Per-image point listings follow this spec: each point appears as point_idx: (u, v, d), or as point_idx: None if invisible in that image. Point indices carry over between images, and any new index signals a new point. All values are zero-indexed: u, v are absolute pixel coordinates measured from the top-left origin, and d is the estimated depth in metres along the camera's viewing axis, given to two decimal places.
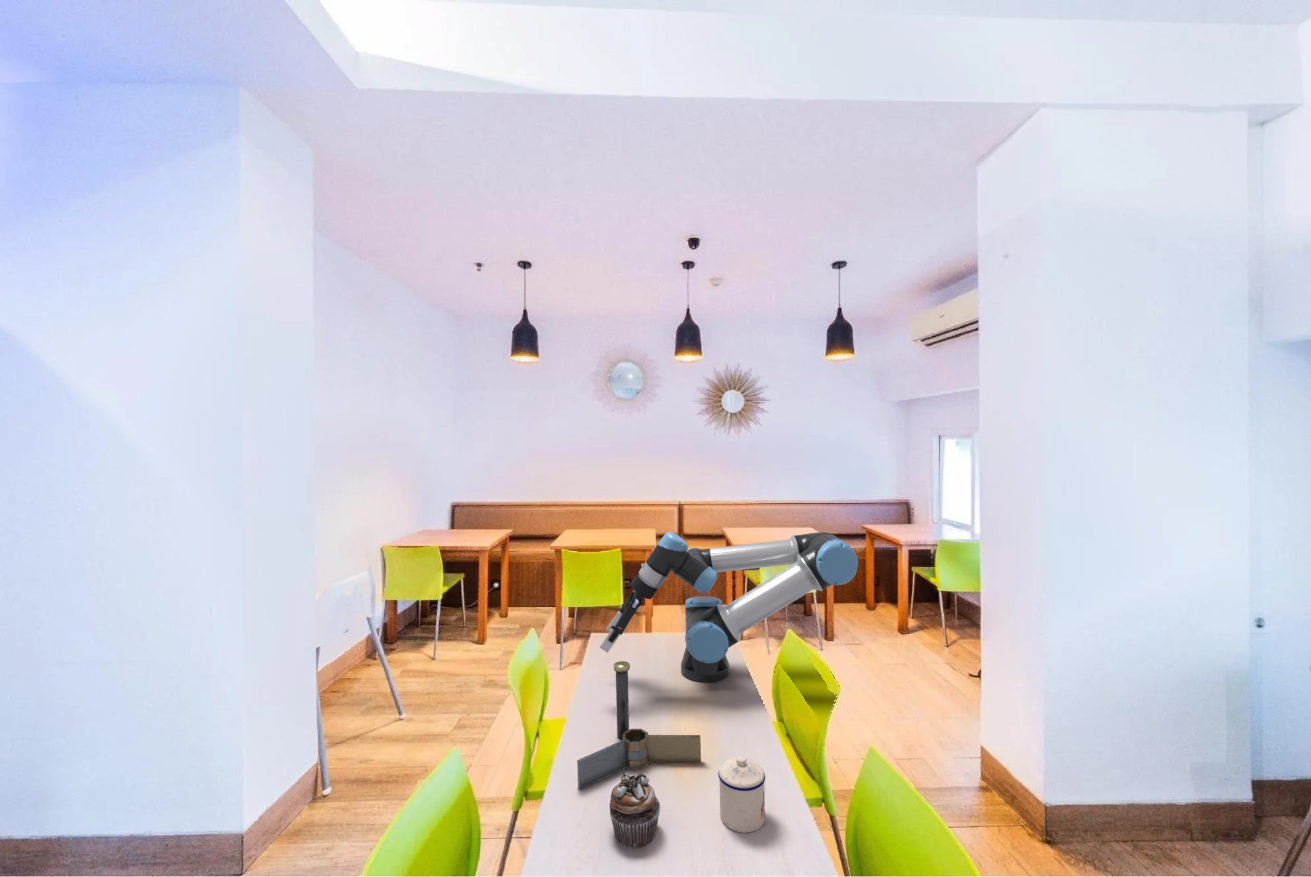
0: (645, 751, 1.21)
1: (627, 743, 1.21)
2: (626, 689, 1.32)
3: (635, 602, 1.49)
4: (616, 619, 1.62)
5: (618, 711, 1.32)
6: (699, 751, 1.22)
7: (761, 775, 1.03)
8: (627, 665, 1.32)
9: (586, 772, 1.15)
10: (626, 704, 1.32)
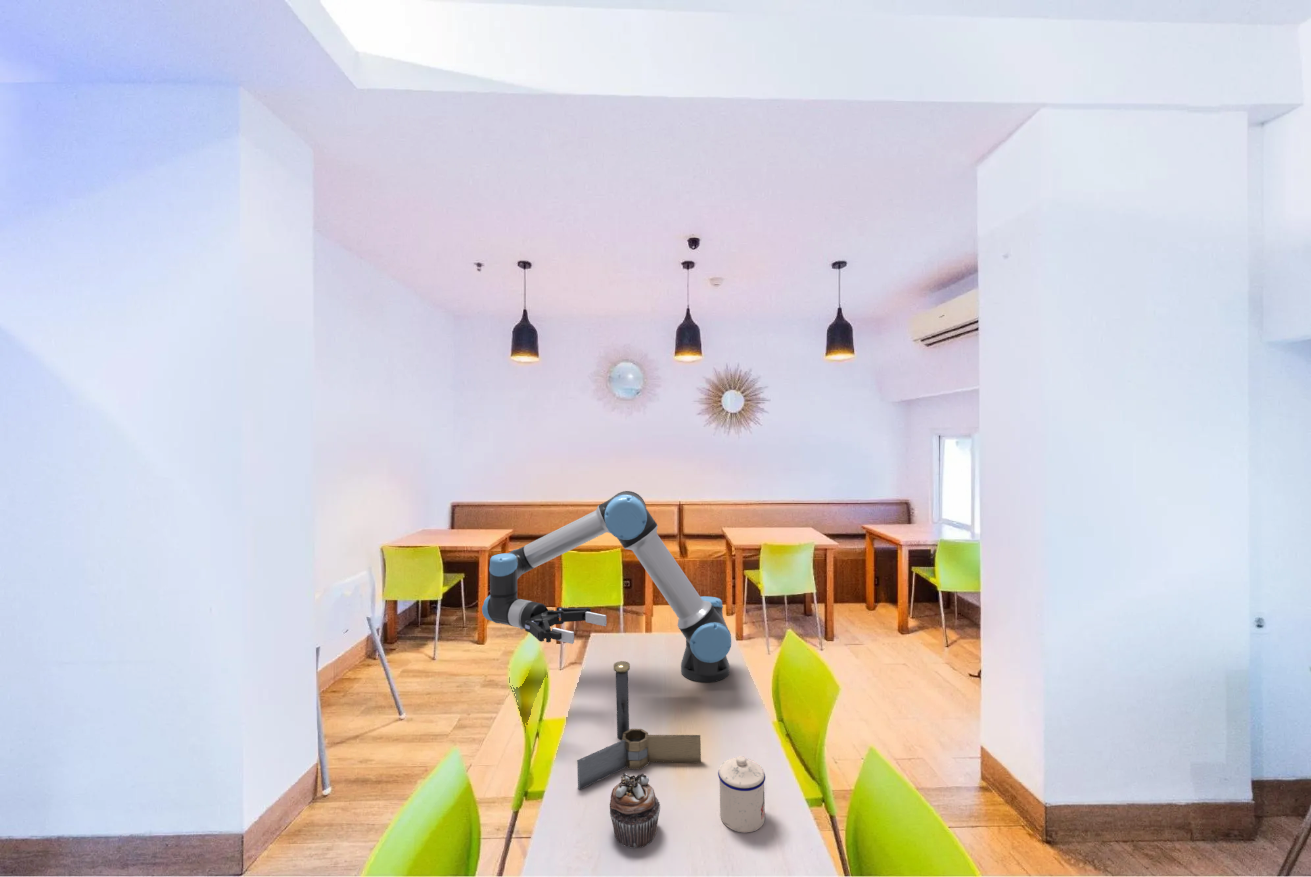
0: (645, 751, 1.21)
1: (627, 743, 1.21)
2: (626, 689, 1.32)
3: (525, 627, 1.40)
4: (591, 620, 1.46)
5: (618, 711, 1.32)
6: (699, 751, 1.22)
7: (761, 775, 1.03)
8: (627, 665, 1.32)
9: (586, 772, 1.15)
10: (626, 704, 1.32)
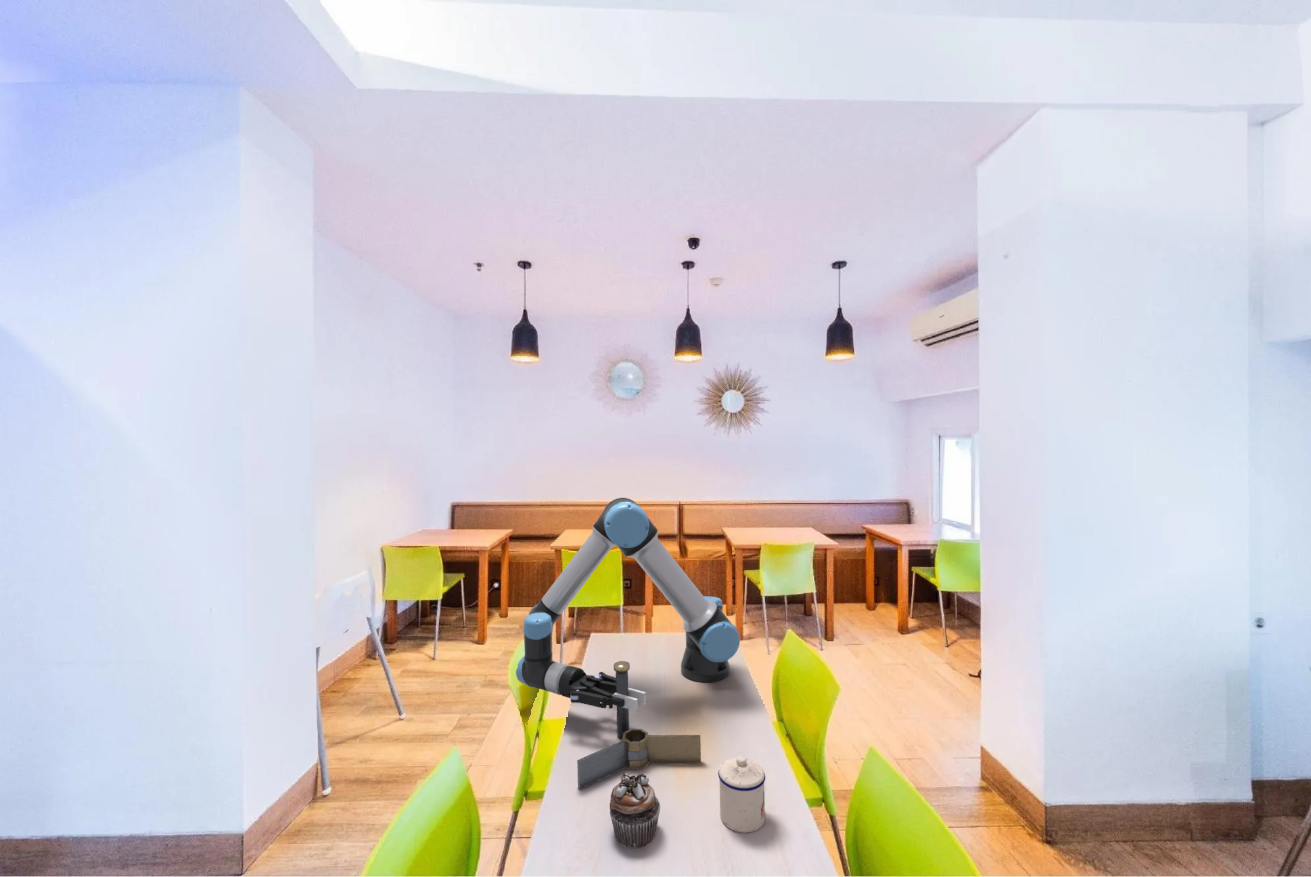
0: (645, 751, 1.21)
1: (627, 743, 1.21)
2: (626, 689, 1.32)
3: (571, 698, 1.33)
4: (629, 696, 1.34)
5: (618, 711, 1.32)
6: (699, 751, 1.22)
7: (761, 775, 1.03)
8: (627, 665, 1.32)
9: (586, 772, 1.15)
10: None
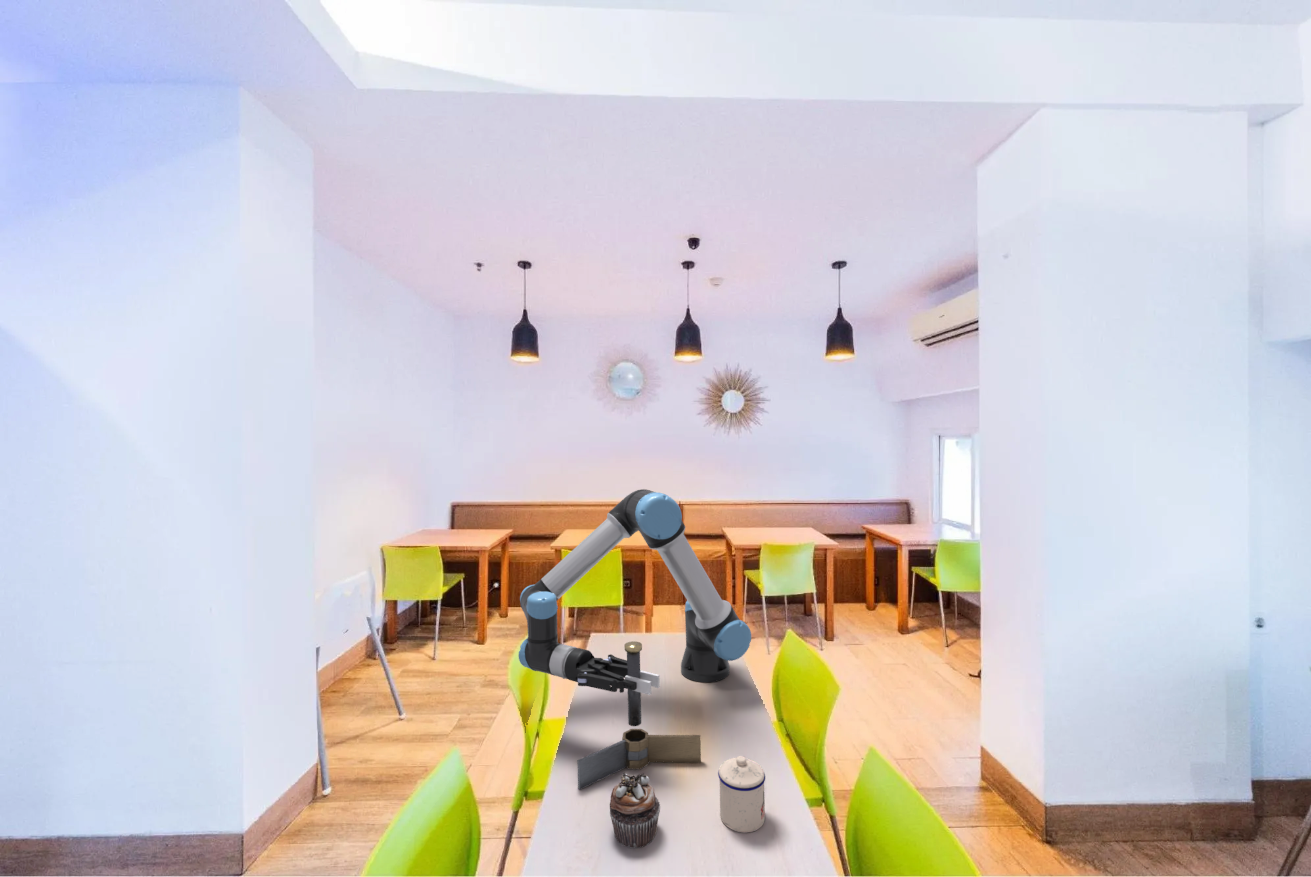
0: (645, 751, 1.21)
1: (627, 743, 1.21)
2: (638, 671, 1.22)
3: (579, 681, 1.23)
4: None
5: (629, 695, 1.22)
6: (699, 751, 1.22)
7: (761, 775, 1.03)
8: (639, 645, 1.22)
9: (586, 772, 1.15)
10: None
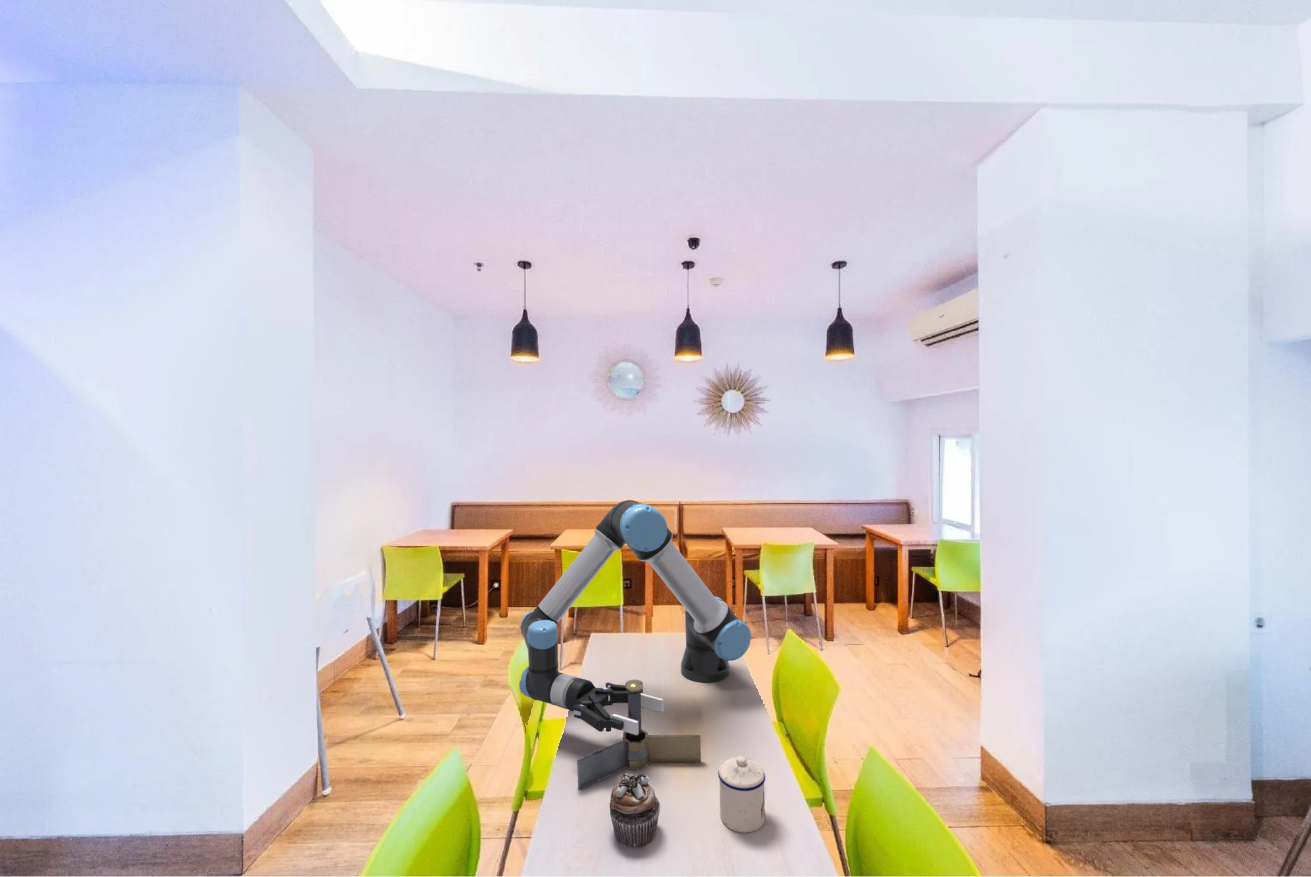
0: (645, 751, 1.21)
1: (627, 743, 1.21)
2: (639, 710, 1.22)
3: (574, 713, 1.23)
4: (645, 703, 1.27)
5: (630, 734, 1.22)
6: (699, 751, 1.22)
7: (761, 775, 1.03)
8: (640, 684, 1.22)
9: (586, 772, 1.15)
10: (639, 726, 1.22)
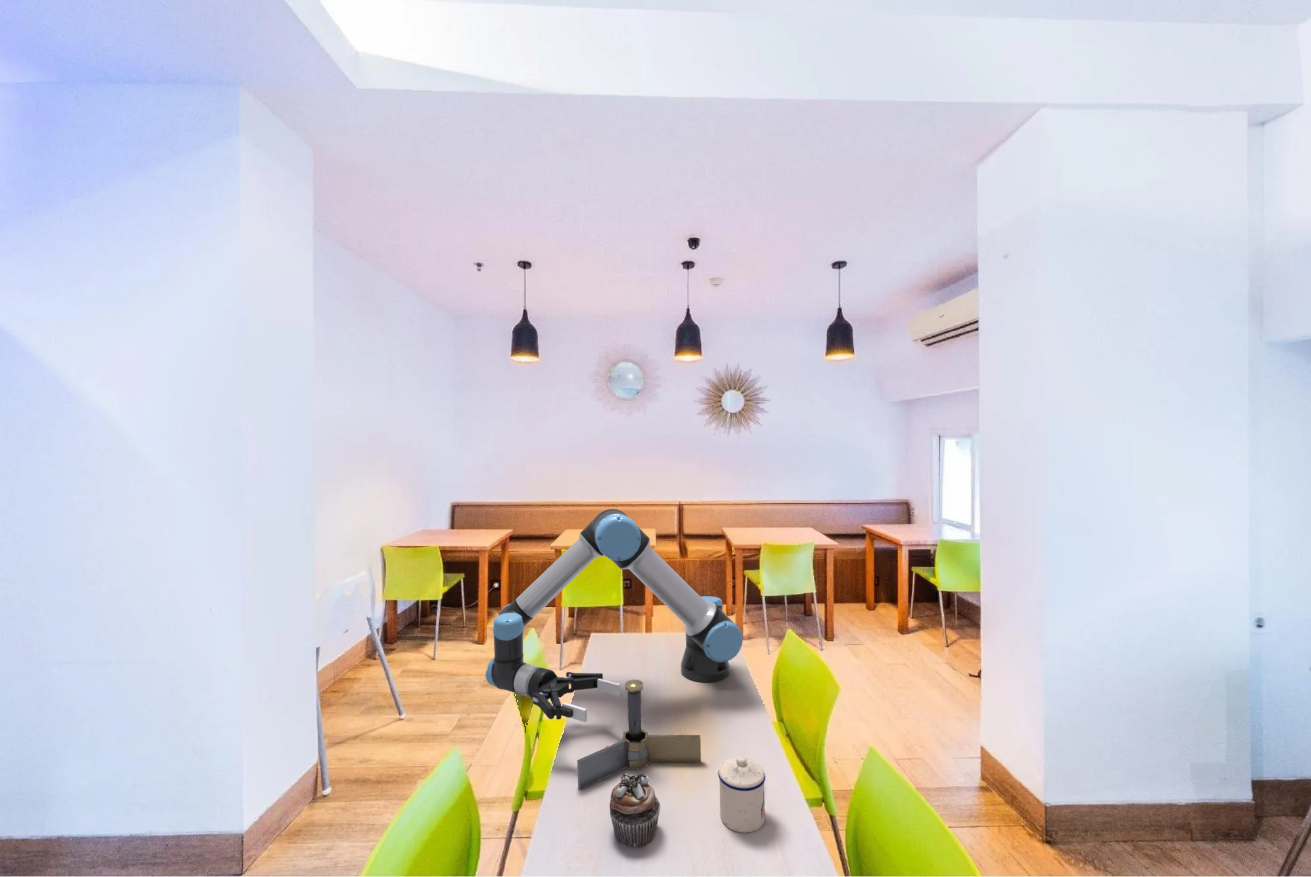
0: (645, 751, 1.21)
1: (627, 743, 1.21)
2: (639, 710, 1.22)
3: (533, 700, 1.30)
4: (604, 688, 1.35)
5: (630, 734, 1.22)
6: (699, 751, 1.22)
7: (761, 775, 1.03)
8: (640, 684, 1.22)
9: (586, 772, 1.15)
10: (639, 726, 1.22)
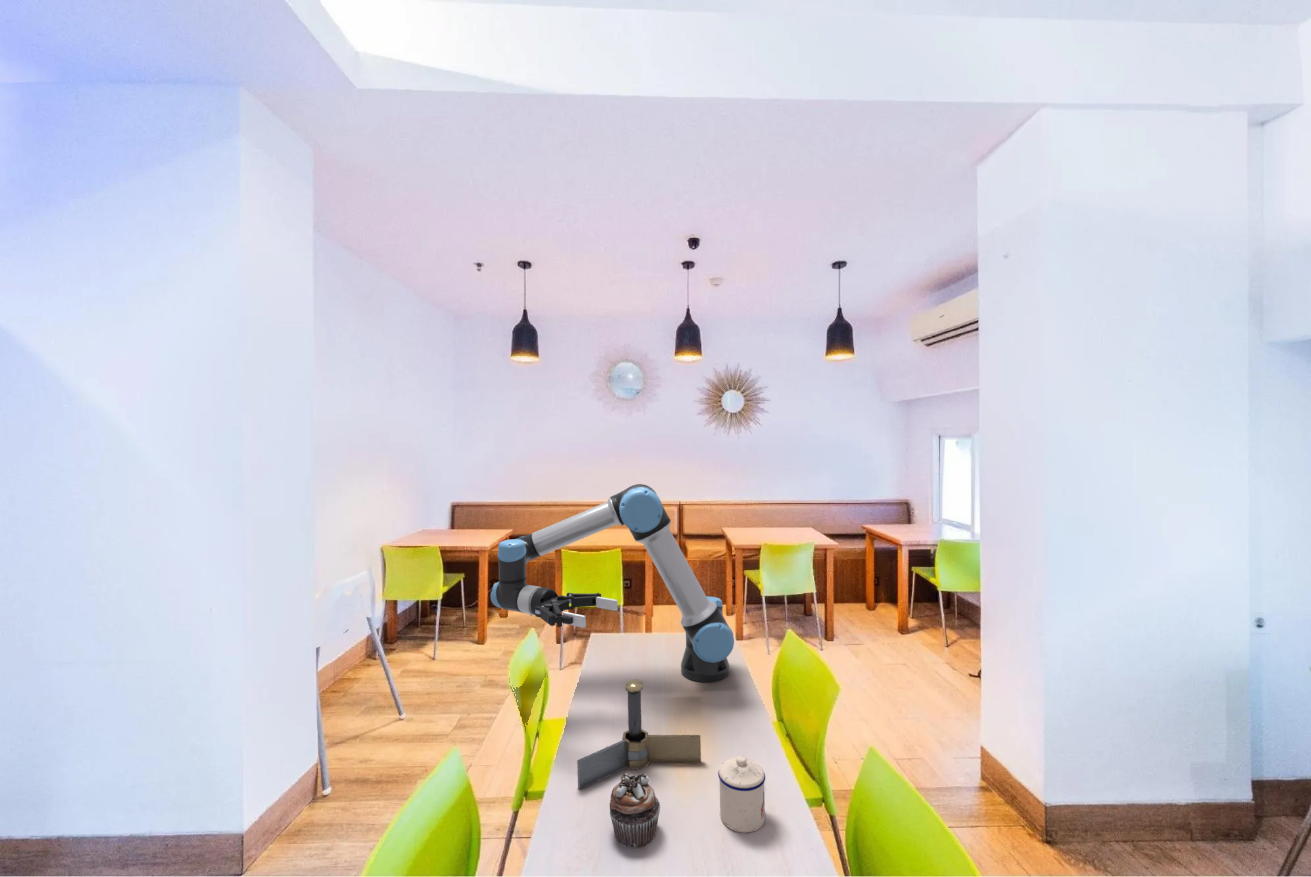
0: (645, 751, 1.21)
1: (627, 743, 1.21)
2: (639, 710, 1.22)
3: (535, 612, 1.38)
4: (602, 605, 1.43)
5: (630, 734, 1.22)
6: (699, 751, 1.22)
7: (761, 775, 1.03)
8: (640, 684, 1.22)
9: (586, 772, 1.15)
10: (639, 726, 1.22)
